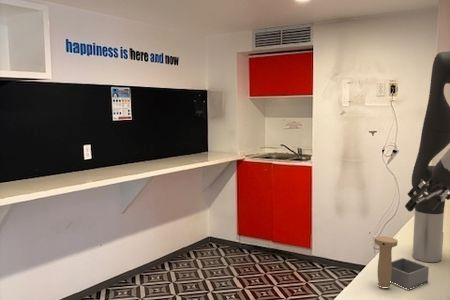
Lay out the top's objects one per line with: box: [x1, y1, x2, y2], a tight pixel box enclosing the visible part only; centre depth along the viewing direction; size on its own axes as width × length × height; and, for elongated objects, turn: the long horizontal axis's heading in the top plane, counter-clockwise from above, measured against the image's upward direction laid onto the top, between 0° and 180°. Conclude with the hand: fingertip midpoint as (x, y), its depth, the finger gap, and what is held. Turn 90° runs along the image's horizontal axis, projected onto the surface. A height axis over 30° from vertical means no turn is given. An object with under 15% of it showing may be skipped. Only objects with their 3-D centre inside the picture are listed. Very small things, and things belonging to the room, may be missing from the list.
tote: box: [391, 257, 430, 289], centre depth 132 cm, size 10×9×5 cm
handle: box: [374, 235, 399, 288], centre depth 127 cm, size 5×6×15 cm
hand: (418, 208), depth 116 cm, fingers open, 8 cm apart
